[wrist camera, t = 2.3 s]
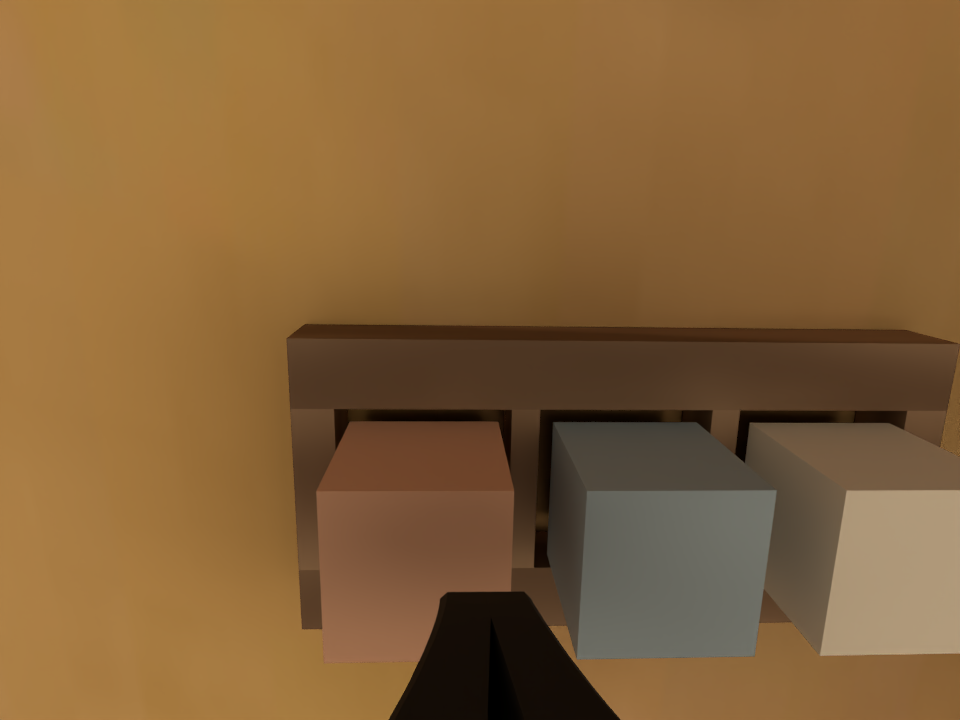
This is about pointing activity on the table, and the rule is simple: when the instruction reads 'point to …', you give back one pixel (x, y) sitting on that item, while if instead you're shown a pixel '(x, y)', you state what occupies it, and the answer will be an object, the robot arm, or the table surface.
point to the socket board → (592, 398)
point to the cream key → (862, 536)
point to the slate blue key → (656, 540)
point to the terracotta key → (409, 532)
